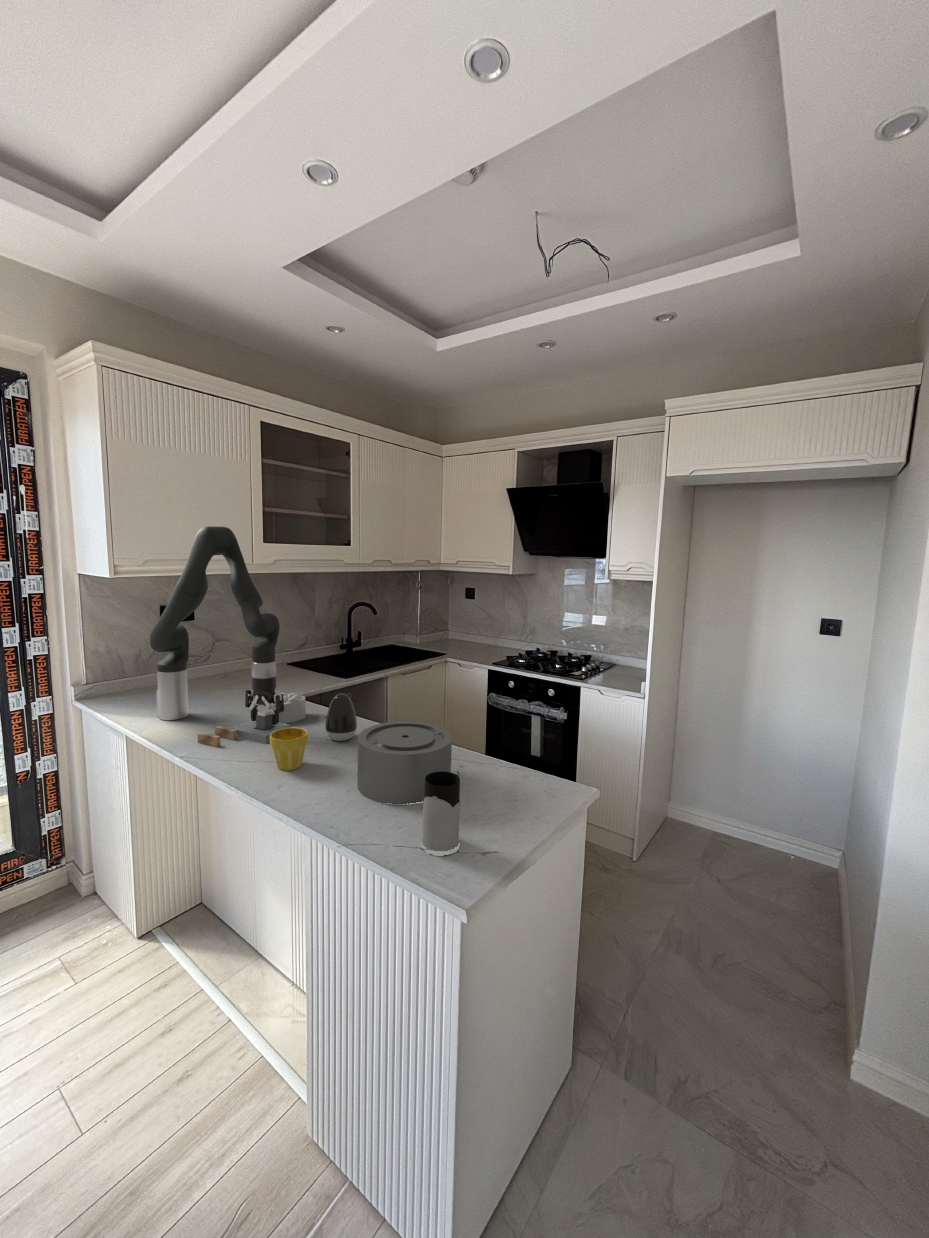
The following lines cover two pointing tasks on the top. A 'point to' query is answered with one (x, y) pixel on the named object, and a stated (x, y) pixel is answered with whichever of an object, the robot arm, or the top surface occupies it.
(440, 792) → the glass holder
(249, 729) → the port
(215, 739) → the pair of wooden planks
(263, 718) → the plug
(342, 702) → the dark grey egg shape
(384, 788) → the container
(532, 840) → the top surface
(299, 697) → the white lumpy box
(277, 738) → the plant pot
